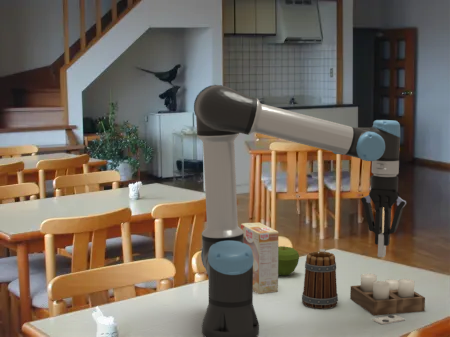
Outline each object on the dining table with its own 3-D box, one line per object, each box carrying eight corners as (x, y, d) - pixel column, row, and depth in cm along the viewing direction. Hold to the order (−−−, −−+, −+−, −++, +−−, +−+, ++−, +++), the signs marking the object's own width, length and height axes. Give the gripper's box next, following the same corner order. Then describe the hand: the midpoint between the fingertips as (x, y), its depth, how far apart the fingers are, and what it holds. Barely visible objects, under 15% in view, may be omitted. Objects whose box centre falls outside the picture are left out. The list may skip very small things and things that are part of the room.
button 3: (388, 300, 220) (389, 284, 220) (381, 295, 225) (382, 279, 224) (402, 299, 222) (403, 283, 221) (395, 294, 226) (396, 278, 225)
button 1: (364, 294, 218) (365, 278, 217) (357, 290, 222) (358, 274, 222) (378, 293, 219) (379, 277, 218) (371, 289, 224) (372, 273, 223)
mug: (336, 310, 213) (338, 260, 211) (300, 308, 215) (301, 258, 213) (339, 294, 228) (340, 247, 226) (305, 292, 230) (306, 245, 228)
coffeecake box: (239, 281, 242) (240, 223, 240) (259, 279, 245) (260, 221, 242) (257, 294, 228) (258, 232, 226) (278, 292, 231) (279, 231, 228)
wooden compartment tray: (373, 315, 209) (374, 301, 208) (350, 298, 224) (350, 286, 224) (424, 311, 213) (425, 297, 212) (398, 294, 228) (398, 282, 228)
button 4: (402, 300, 212) (403, 283, 212) (394, 296, 217) (395, 279, 216) (416, 299, 214) (417, 282, 213) (408, 294, 218) (409, 278, 217)
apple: (263, 271, 254) (263, 243, 253) (291, 269, 257) (291, 241, 256) (274, 280, 244) (275, 250, 242) (304, 277, 247) (304, 248, 245)
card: (380, 324, 201) (381, 322, 201) (372, 320, 205) (372, 318, 205) (404, 320, 205) (404, 318, 204) (395, 316, 208) (395, 314, 208)
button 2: (377, 303, 210) (377, 286, 210) (370, 298, 215) (370, 281, 214) (391, 301, 211) (392, 284, 211) (384, 297, 216) (384, 280, 215)
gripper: (358, 174, 209) (355, 255, 212) (403, 178, 202) (400, 262, 206) (367, 171, 215) (364, 250, 218) (411, 175, 209) (407, 256, 212)
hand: (381, 256), depth 212 cm, fingers closed
